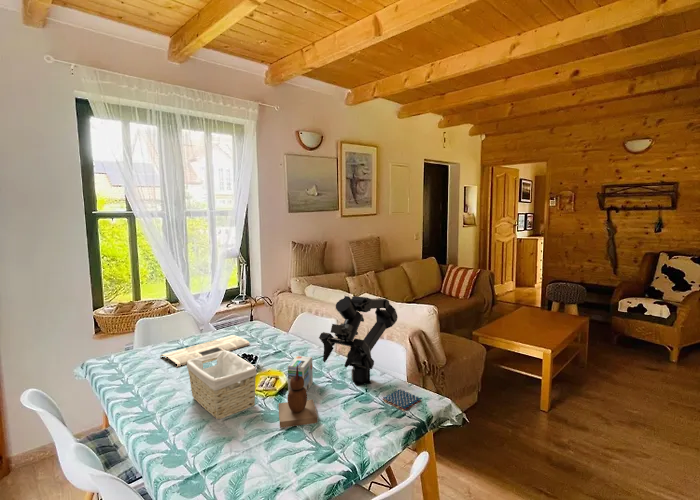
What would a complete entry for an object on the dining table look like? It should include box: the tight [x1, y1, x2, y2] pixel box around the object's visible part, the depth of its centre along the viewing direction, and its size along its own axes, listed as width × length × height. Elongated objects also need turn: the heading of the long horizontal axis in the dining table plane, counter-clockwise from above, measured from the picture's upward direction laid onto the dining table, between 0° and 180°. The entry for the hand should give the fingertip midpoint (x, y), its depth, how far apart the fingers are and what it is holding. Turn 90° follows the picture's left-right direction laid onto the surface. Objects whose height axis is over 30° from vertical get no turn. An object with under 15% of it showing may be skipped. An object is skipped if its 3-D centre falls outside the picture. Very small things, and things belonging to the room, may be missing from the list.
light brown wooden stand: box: [277, 398, 319, 429], centre depth 130 cm, size 12×12×2 cm
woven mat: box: [382, 388, 422, 412], centre depth 139 cm, size 10×11×2 cm
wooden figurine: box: [287, 364, 308, 412], centre depth 129 cm, size 7×6×15 cm
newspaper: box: [159, 334, 250, 368], centre depth 191 cm, size 37×19×3 cm, turn 137°
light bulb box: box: [287, 355, 314, 394], centre depth 150 cm, size 11×7×11 cm, turn 169°
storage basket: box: [186, 350, 258, 420], centre depth 139 cm, size 24×16×15 cm
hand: (334, 364), depth 138 cm, fingers open, 9 cm apart
